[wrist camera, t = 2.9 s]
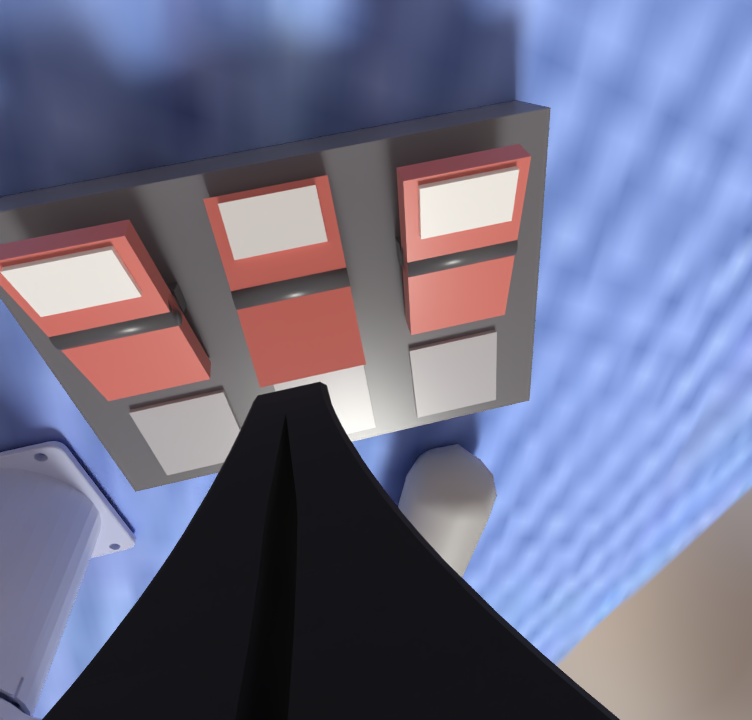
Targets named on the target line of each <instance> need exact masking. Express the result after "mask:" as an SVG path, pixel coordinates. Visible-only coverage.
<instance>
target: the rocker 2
mask: <svg viewBox="0 0 752 720" xmlns="http://www.w3.org/2000/svg"><path fill="white" fill-rule="evenodd" d="M203 201H204V204H205V207H206V211H207V214H208V217H209V221H210V224H211V227H212V230H213V234H214V237H215V240H216V244H217V247H218V250H219V254H220V257H221V260H222V263H223V267H224V270H225V273H226V277H227V280H228V283H229V287H230V290H231V294H232V299H233V302H234V305H235V308H236V310H237V313H238V316H239V320H240V323H241V326H242V329H243V333H244V336H245V339H246V343H247V346H248V349H249V353H250V356H251V359H252V362H253V366H254V369H255V372H256V376H257V379H258V382H259V386H260V388H261V387H266V386H270V385H275V384H279V383H284V382H288V381H293V380H297V379H302V378H306V377H311V376H316V375H320V374H325V373H329V372H334V371H338V370H343V369H347V368H352V367H356V366H361V365H365V364H366V361H365V356H364V352H363V347H362V342H361V337H360V332H359V327H358V322H357V317H356V312H355V307H354V303H353V298H352V293H351V288H350V282H349V277H348V273H347V268H346V263H345V258H344V254H343V249H342V244H341V239H340V234H339V229H338V224H337V219H336V214H335V209H334V205H333V200H332V195H331V190H330V185H329V180H328V175H325V176H320V177H315V178H310V179H304V180H299V181H294V182H289V183H284V184H279V185H273V186H268V187H263V188H258V189H253V190H247V191H242V192H237V193H232V194H227V195H222V196H216V197H211V198H206V199H203Z"/></svg>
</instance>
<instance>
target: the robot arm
mask: <svg viewBox="0 0 752 720" xmlns="http://www.w3.org/2000/svg"><path fill="white" fill-rule="evenodd" d="M40 453H42V454H45V455H42V454H40ZM135 541H136V537H135V535H134V534H133V533H132V532H131V530H130V529H129V528H128V526H127V525H126V524H125V522H124V521H123V520H122V518H121V517H120V516H119V515H118V513H117V512H116V511H115V509H114V508H113V507H112V505H111V504H110V503H109V501H108V500H107V499H106V498H105V496H104V495H103V494H102V492H101V491H100V490H99V488H98V487H97V486H96V484H95V483H94V482H93V481H92V479H91V478H90V477H89V475H88V474H87V473H86V471H85V470H84V469H83V467H82V466H81V465H80V464H79V462H78V461H77V460H76V458H75V457H74V456H73V454H72V453H71V452H70V450H69V449H68V448H67V447H66V446H65V445H64V444H63V443H60V442H57V441H49V442H44V443H40V444H35V445H31V446H26V447H22V448H17V449H13V450H8V451H4V452H0V720H619V719H618V718H617V717H616V716H615V715H614V714H612V713H611V712H610V711H609V710H608V709H607V708H605V707H604V706H603V705H602V704H601V703H599V702H598V701H597V700H596V699H595V698H593V697H592V696H591V695H590V694H589V693H587V692H586V691H585V690H584V689H583V688H581V687H580V686H579V685H578V684H577V683H575V682H574V681H573V680H572V679H571V678H570V677H569V676H567V675H566V674H565V673H564V672H563V671H562V670H560V669H559V668H558V667H557V666H556V665H555V664H554V663H552V662H551V661H550V660H549V659H548V658H547V657H545V656H544V655H543V654H542V653H541V652H540V651H539V650H538V649H536V648H535V647H534V646H533V645H532V644H531V643H530V642H529V641H528V640H527V639H525V638H524V637H523V636H522V635H521V634H520V633H519V632H518V631H517V630H516V629H514V628H513V627H512V626H511V625H510V624H509V623H508V622H507V621H506V620H505V619H504V618H502V617H501V616H500V615H499V614H498V613H497V612H496V611H495V610H494V609H493V608H492V607H491V606H490V605H489V604H488V603H487V602H486V601H485V600H484V599H483V598H482V597H481V596H480V595H479V594H478V593H477V592H476V591H475V590H474V589H473V588H472V587H471V586H470V585H469V584H468V583H467V582H466V581H465V580H464V579H463V578H462V577H461V576H460V575H459V574H458V573H457V572H456V571H455V570H454V569H453V568H452V567H451V566H450V565H449V564H448V563H447V562H446V561H445V560H444V559H443V558H442V557H441V556H440V555H439V554H438V553H437V552H436V550H435V549H434V548H433V547H432V546H431V545H430V544H429V543H428V542H427V541H426V539H425V538H424V537H423V536H422V535H421V534H420V533H419V532H418V531H417V529H416V528H415V527H414V526H413V525H412V523H411V522H410V521H409V520H408V519H407V518H406V516H405V515H404V514H403V513H402V512H401V510H400V509H399V508H398V507H397V506H396V504H395V503H394V502H393V501H392V499H391V498H390V497H389V495H388V494H387V493H386V491H385V490H384V489H383V487H382V486H381V485H380V483H379V482H378V481H377V479H376V478H375V477H374V475H373V474H372V472H371V471H370V470H369V468H368V467H367V465H366V464H365V462H364V461H363V459H362V458H361V456H360V455H359V453H358V451H357V450H356V448H355V447H354V445H353V443H352V442H351V440H350V439H349V437H348V435H347V434H346V432H345V430H344V428H343V426H342V425H341V423H340V421H339V418H338V416H337V414H336V412H335V410H334V408H333V406H332V403H331V399H330V395H329V391H328V387H327V385H326V384H324V383H322V382H316V383H311V384H307V385H302V386H298V387H293V388H289V389H284V390H280V391H275V392H271V393H266V394H262V395H258V396H257V397H256V398H255V400H254V401H253V403H252V406H251V408H250V410H249V412H248V414H247V417H246V419H245V421H244V423H243V425H242V427H241V430H240V432H239V434H238V436H237V438H236V440H235V442H234V444H233V446H232V448H231V450H230V452H229V454H228V456H227V458H226V460H225V462H224V463H223V465H222V467H221V469H220V471H219V473H218V475H217V477H216V479H215V480H214V482H213V484H212V486H211V488H210V490H209V491H208V493H207V495H206V497H205V498H204V500H203V502H202V503H201V505H200V507H199V508H198V510H197V512H196V513H195V515H194V517H193V518H192V520H191V522H190V523H189V525H188V527H187V528H186V530H185V532H184V533H183V535H182V536H181V538H180V540H179V541H178V543H177V544H176V546H175V547H174V549H173V550H172V552H171V553H170V555H169V557H168V558H167V559H166V561H165V562H164V564H163V565H162V567H161V568H160V570H159V571H158V573H157V574H156V576H155V577H154V578H153V580H152V581H151V583H150V584H149V586H148V587H147V588H146V590H145V591H144V593H143V594H142V595H141V597H140V598H139V600H138V601H137V602H136V604H135V605H134V606H133V608H132V609H131V610H130V612H129V613H128V614H127V616H126V617H125V618H124V619H123V621H122V622H121V623H120V625H119V626H118V627H117V629H116V630H115V631H114V633H113V634H112V635H111V637H110V638H109V639H108V640H107V642H106V643H105V644H104V646H103V647H102V648H101V650H100V651H99V652H98V653H97V655H96V656H95V657H94V658H93V660H92V661H91V662H90V663H89V665H88V666H87V667H86V668H85V670H84V671H83V672H82V673H81V675H80V676H79V677H78V678H77V679H76V681H75V682H74V683H73V684H72V686H71V687H70V688H69V689H68V690H67V691H66V693H65V694H64V695H63V696H62V697H61V698H60V700H59V701H58V702H57V703H56V704H55V705H54V706H53V708H52V709H51V710H50V711H49V712H48V713H47V715H46V716H45V717H44V718H43V719H39V718H35V717H32V716H33V713H34V711H35V708H36V705H37V703H38V700H39V697H40V694H41V692H42V689H43V686H44V683H45V681H46V678H47V675H48V673H49V670H50V667H51V664H52V662H53V659H54V656H55V654H56V651H57V648H58V645H59V643H60V640H61V637H62V635H63V632H64V629H65V626H66V624H67V621H68V618H69V615H70V613H71V610H72V607H73V605H74V602H75V599H76V596H77V594H78V591H79V588H80V586H81V583H82V580H83V577H84V575H85V572H86V569H87V567H88V564H89V561H90V558H93V557H98V556H102V555H106V554H110V553H114V552H118V551H123V550H127V549H130V548H132V547H133V546H134V544H135Z"/></svg>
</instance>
